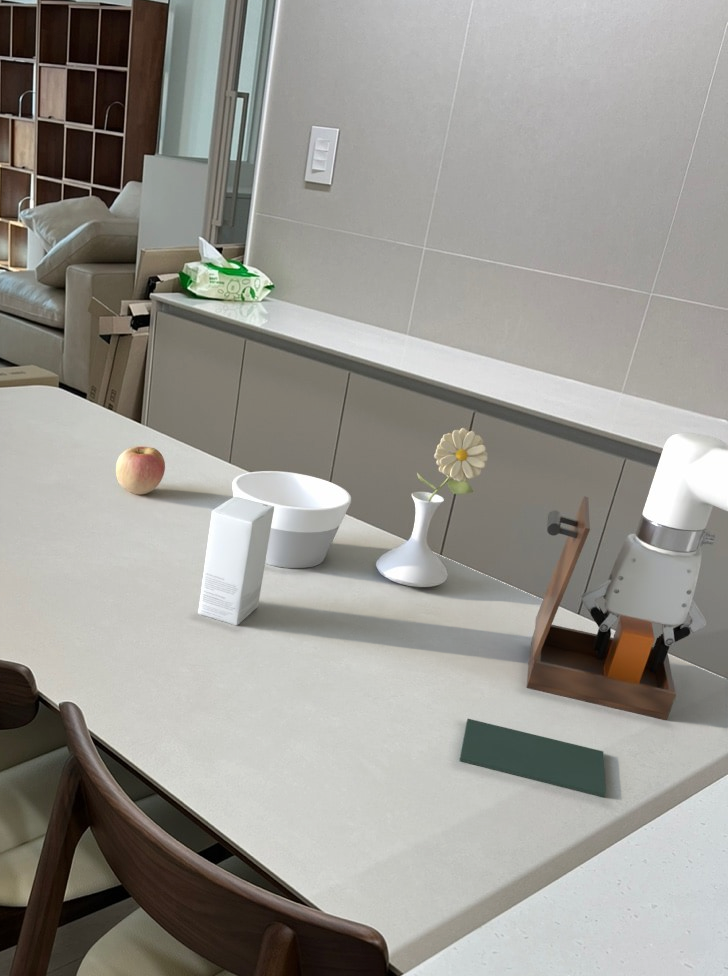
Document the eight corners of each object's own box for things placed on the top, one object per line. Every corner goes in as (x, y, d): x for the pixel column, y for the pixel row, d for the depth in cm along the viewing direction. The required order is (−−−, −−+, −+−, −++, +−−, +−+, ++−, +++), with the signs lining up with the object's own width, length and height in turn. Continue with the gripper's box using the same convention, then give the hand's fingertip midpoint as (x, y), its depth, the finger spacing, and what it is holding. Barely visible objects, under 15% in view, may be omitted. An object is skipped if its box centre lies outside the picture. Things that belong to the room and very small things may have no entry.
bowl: (360, 573, 170) (372, 509, 165) (250, 576, 163) (260, 510, 158) (309, 530, 185) (320, 470, 180) (207, 532, 179) (215, 470, 174)
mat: (602, 754, 126) (603, 751, 125) (604, 797, 117) (605, 793, 117) (466, 721, 129) (467, 718, 129) (459, 761, 121) (460, 757, 120)
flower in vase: (368, 583, 166) (401, 425, 154) (379, 560, 176) (411, 410, 164) (452, 602, 163) (491, 442, 151) (458, 577, 173) (496, 425, 161)
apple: (166, 489, 197) (171, 446, 194) (154, 502, 190) (158, 459, 186) (122, 481, 199) (125, 439, 195) (108, 494, 191) (111, 450, 187)
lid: (588, 497, 141) (555, 488, 142) (590, 529, 128) (554, 519, 129) (539, 619, 150) (509, 610, 151) (537, 660, 137) (503, 650, 138)
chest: (658, 673, 148) (667, 649, 146) (666, 720, 135) (676, 694, 134) (530, 645, 152) (537, 621, 150) (526, 687, 139) (534, 662, 138)
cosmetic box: (220, 596, 155) (234, 494, 148) (261, 608, 153) (277, 505, 146) (195, 615, 148) (208, 508, 141) (238, 627, 146) (254, 520, 139)
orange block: (633, 674, 145) (651, 621, 141) (635, 693, 140) (654, 639, 136) (603, 668, 146) (620, 615, 142) (604, 686, 140) (622, 632, 137)
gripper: (737, 539, 134) (690, 665, 143) (597, 512, 138) (559, 636, 146) (746, 558, 128) (696, 689, 136) (598, 529, 132) (558, 658, 140)
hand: (625, 660), depth 141 cm, fingers open, 6 cm apart
